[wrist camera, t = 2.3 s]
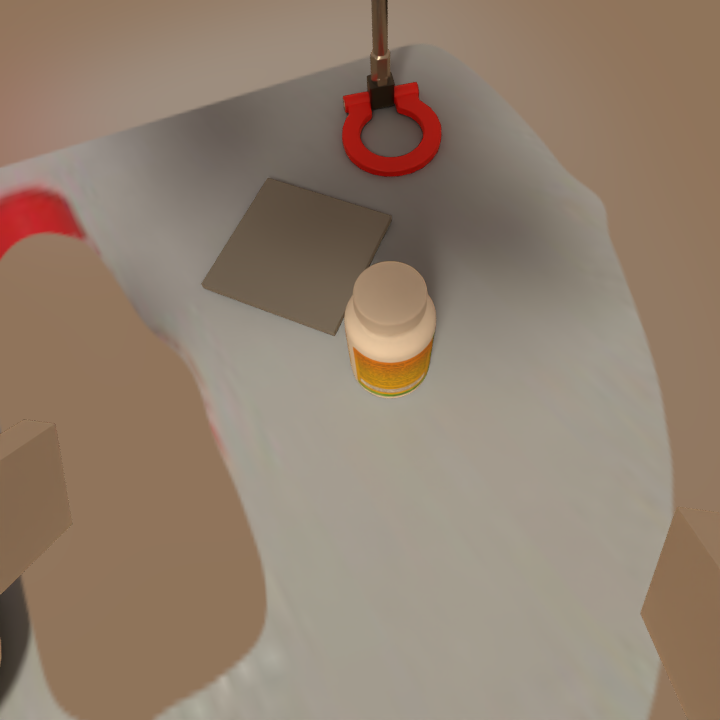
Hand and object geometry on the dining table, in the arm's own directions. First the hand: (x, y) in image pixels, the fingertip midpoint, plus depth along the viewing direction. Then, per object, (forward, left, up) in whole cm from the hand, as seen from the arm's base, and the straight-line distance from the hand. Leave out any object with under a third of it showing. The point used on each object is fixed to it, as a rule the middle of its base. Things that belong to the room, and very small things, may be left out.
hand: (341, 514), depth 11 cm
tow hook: (-12, +32, -22) cm, 41 cm away
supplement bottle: (-4, +12, -22) cm, 26 cm away
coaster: (-14, +18, -22) cm, 32 cm away
